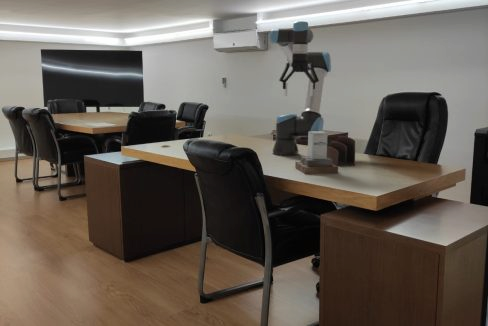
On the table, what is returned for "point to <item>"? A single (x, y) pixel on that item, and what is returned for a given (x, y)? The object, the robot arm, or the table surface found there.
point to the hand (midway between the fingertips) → (298, 95)
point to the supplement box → (317, 144)
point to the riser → (316, 166)
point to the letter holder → (342, 151)
